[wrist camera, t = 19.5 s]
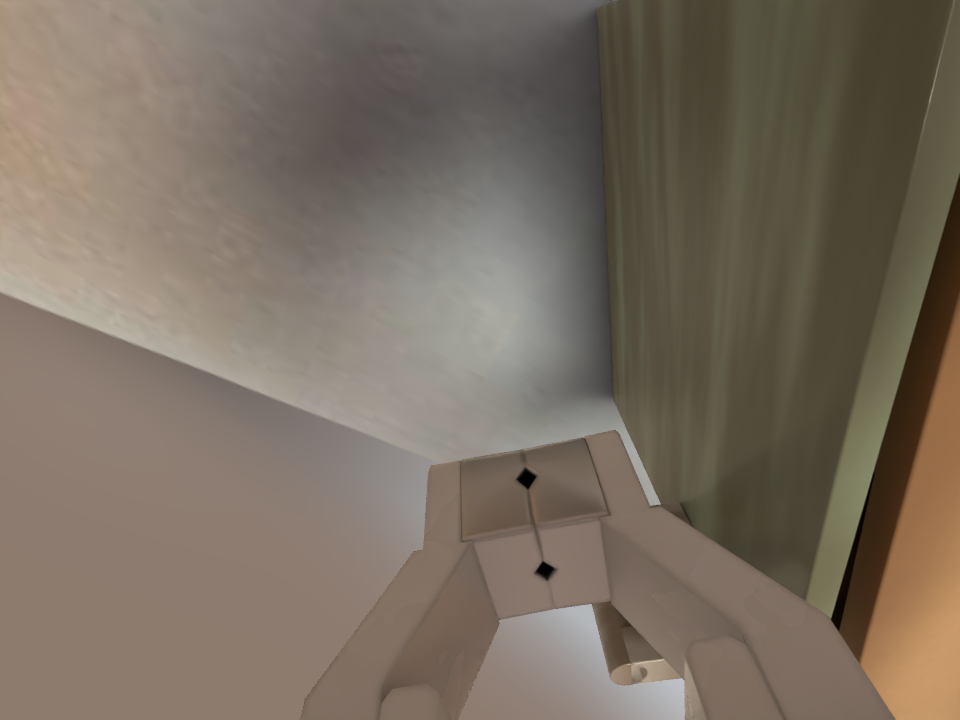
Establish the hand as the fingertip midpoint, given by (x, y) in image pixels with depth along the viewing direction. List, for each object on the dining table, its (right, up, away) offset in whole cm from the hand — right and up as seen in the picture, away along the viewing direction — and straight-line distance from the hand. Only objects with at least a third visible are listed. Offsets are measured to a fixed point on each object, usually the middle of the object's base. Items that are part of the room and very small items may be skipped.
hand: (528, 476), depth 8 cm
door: (+5, +9, +27) cm, 29 cm away
